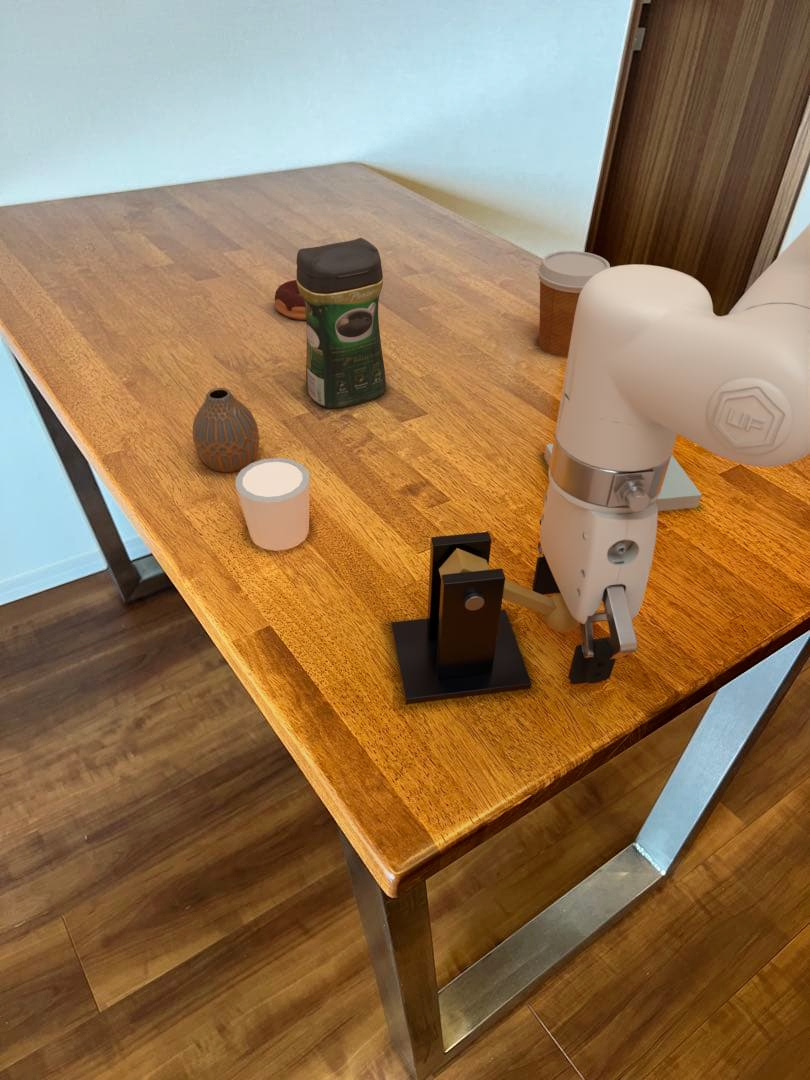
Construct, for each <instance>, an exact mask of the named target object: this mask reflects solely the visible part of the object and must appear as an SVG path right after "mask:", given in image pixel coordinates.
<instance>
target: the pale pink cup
mask: <svg viewBox="0 0 810 1080" xmlns="http://www.w3.org/2000/svg"><path fill="white" fill-rule="evenodd" d="M310 479H311V478H310V471H309V470H308V469H307V468H306V467H305V465H304V464H302V463H300V462H298V461H296V460H293V459H290V458H283V457H270V458H263V459H260V460H256V461H252V462H251V463H250V464H249V465H248V466H246V467H245V468H243V469H242V470H239V472H238V474H237V475H236V476H235V491H236V493H237V496H238V501H239V503H240V507H241V511H242V513H243V516H244V520H245V523H246V526H247V530H248V533H249V536H250V539H251V540H252V541H253V543H254V545H256V546H257V547H260V548H262V549H263V550H267V551H274V552H277V551H286V550H289V549H292V548H295V547H297V546H299V545H300V544H301V543H302V542H304V541H305V540H306V538H307V537H308V535H309V532H310V498H311V497H310V495H311V494H310V493H311V492H310V491H311V489H310V488H311V487H310V486H311V480H310Z"/></svg>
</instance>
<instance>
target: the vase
mask: <svg viewBox="0 0 810 1080" xmlns="http://www.w3.org/2000/svg"><path fill="white" fill-rule="evenodd" d="M192 440H193V444H194V448H195V451H196V453H197V454H198V457H199V458H200V460H201V461H202V462H203V463H204V464H205V465H206V466H207V467H209V468H210V469H212V470H213V471H216V472H219V473H234V472H240V471H241V470H242V469H243V468H245V467H246V466H248V465H249V464H251V463H253V462H254V460H255V458H256V457H257V454H258V451H259V446H260V434H259V427H258V424H257V421H256V419H255V417H254V415H253V413H252V412H251V411H250V409H249V408H248V407H247V406H246V405H245V404H244V403H242V401H240V400H238V399H237V398H236V397H235V396H234V395H233V393H232V392H231V390H229V389H228V388H225V387H216V388H212V389H210V390H209V391H208V392H207V393H206V395H205V399H204V401H203V403H202V405H200V408H199V409H198V410H197V412H196V413H195V416H194V419H193V423H192Z"/></svg>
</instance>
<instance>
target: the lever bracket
mask: <svg viewBox="0 0 810 1080" xmlns="http://www.w3.org/2000/svg"><path fill="white" fill-rule="evenodd" d="M492 542H493V541H492V538H491V535H490V532H489V531H481V532H471V533H460V534H452V535H450V534H449V535H440V536H431V537H430V547H429V548H430V550H429V551H430V552H429V570H428V571H429V572H428V573H429V574H428V594H427V595H428V596H427V616H426V617H427V618H418V619H408V620H400V621H399V620H398V621H391V622H390V630H391V635H392V640H393V645H394V651H395V656H396V661H397V666H398V672H399V676H400V680H401V687H402V692H403V698H404V702H405V705H412V704H420V703H427V702H428V703H429V702H436V701H443V700H452V699H460V698H466V697H475V696H483V695H491V694H498V693H500V694H501V693H506V692H507V693H508V692H514V691H523V690H530V689H531V688H532V681H531V679H530V676H529V673H528V670H527V666H526V664H525V662H524V658H523V656H522V652H521V650H520V647H519V644H518V641H517V639H516V635H515V633H514V631H513V627H512V624H511V621H510V619H509V616H508V613H507V611H506V609H502V603H503V599H502V598H503V591H504V584H505V580H506V576H505V572H504V570H503V569H502V568H492V569H490V570H482V571H473V572H463V573H454V574H444V575H442V576H440V573H439V568H440V567H441V566H442V565H443V564H444V562H445V561H446V560H447V559H448V558H449V557H450V556H451V554H452V553H453V552H454V551H455V550H456V549H457V548H458V549H461V550H463V551H466V552H468V553H471V554H473V555H476V556H478V557H481V558H483V559H486V561H487V563H488V566H489V567H490V558H491V557H490V556H491V548H492Z"/></svg>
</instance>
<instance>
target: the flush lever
mask: <svg viewBox="0 0 810 1080" xmlns="http://www.w3.org/2000/svg"><path fill="white" fill-rule="evenodd" d="M482 570H491V569H490V565H489V566H488V563H487V561H486V559H483V558H481V557H478V556H476V555H473V554H471V553H468V552H466V551H463V550H461V549H458V548H457V549H456V550H455V551H454V552H453V553H452V554H451V556H450V557H449V558H448V559H447V560H446V561H445V562H444V564H443V565H442V566H441V567H440V568H439V573H440V576H442V575H444V574H454V573H463V572H473V571H482ZM502 600H504V601H507V602H510V603H512V604H516V605H517V606H521V607H522V608H523V607H524V608H527V609H529V610H532V611H534V612H536V613H539V614H542V615H543V617H544V618H543V619H544V621H545V624H546V625H547V626H548V627H550V629H552V630H553V631H555V632H557V633H563V634H565V633H566V634H567V633H571V632H573V631H575V630H576V629H578V628H580V623H579V622H578V621H577V620H576V619H575V618H574V617H573V616H572V615H571V613H570V611H569V609H568V607H567V605H566V603H565V601H564V599H563V596H562V594H561V593H553V594H552V595H551V596H547V595H545V594H544V595H542V594H539V593H537V592H534V591H533V589H529V588H527V587H524V586H521V585H519V584H516V583H515V582H511V581H509V580H506V579H505V584H504V591H503V598H502Z"/></svg>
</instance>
